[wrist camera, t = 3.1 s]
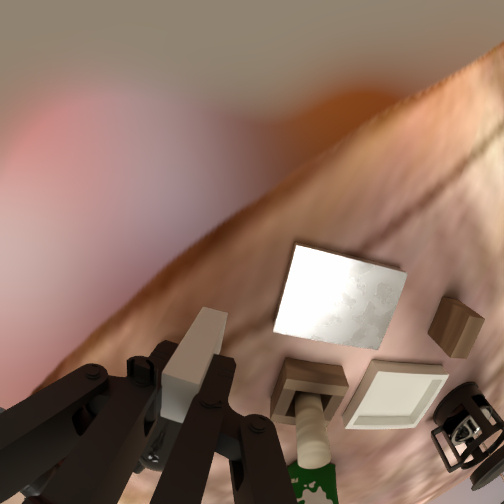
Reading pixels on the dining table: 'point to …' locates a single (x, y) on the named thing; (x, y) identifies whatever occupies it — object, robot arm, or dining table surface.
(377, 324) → the plate
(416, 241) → the dining table surface
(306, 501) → the milk carton
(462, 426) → the french press
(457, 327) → the wooden block
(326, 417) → the socket block
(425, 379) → the tray
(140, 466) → the pump dispenser
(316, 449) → the dowel
